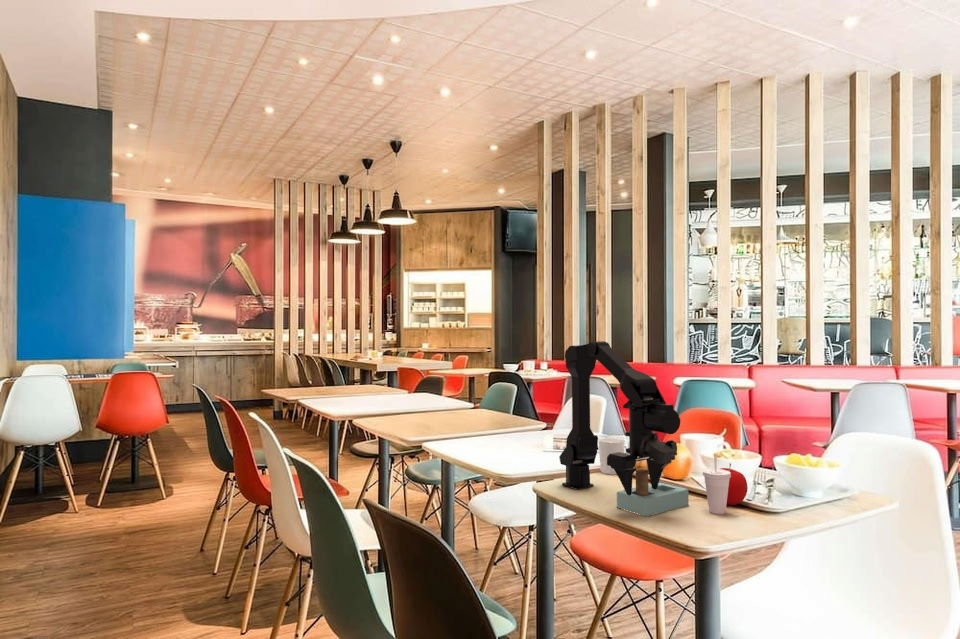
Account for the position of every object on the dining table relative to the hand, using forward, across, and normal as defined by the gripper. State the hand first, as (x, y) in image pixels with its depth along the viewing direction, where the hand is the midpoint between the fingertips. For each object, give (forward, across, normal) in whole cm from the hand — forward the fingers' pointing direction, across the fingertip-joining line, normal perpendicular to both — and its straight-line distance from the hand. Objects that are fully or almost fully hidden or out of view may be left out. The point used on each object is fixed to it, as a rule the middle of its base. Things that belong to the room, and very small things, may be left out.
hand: (641, 491), depth 153 cm
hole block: (+4, +4, 0) cm, 6 cm away
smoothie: (+4, +13, -12) cm, 18 cm away
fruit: (+4, +22, -9) cm, 24 cm away
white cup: (+4, +23, +32) cm, 40 cm away
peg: (+4, 0, 0) cm, 4 cm away
